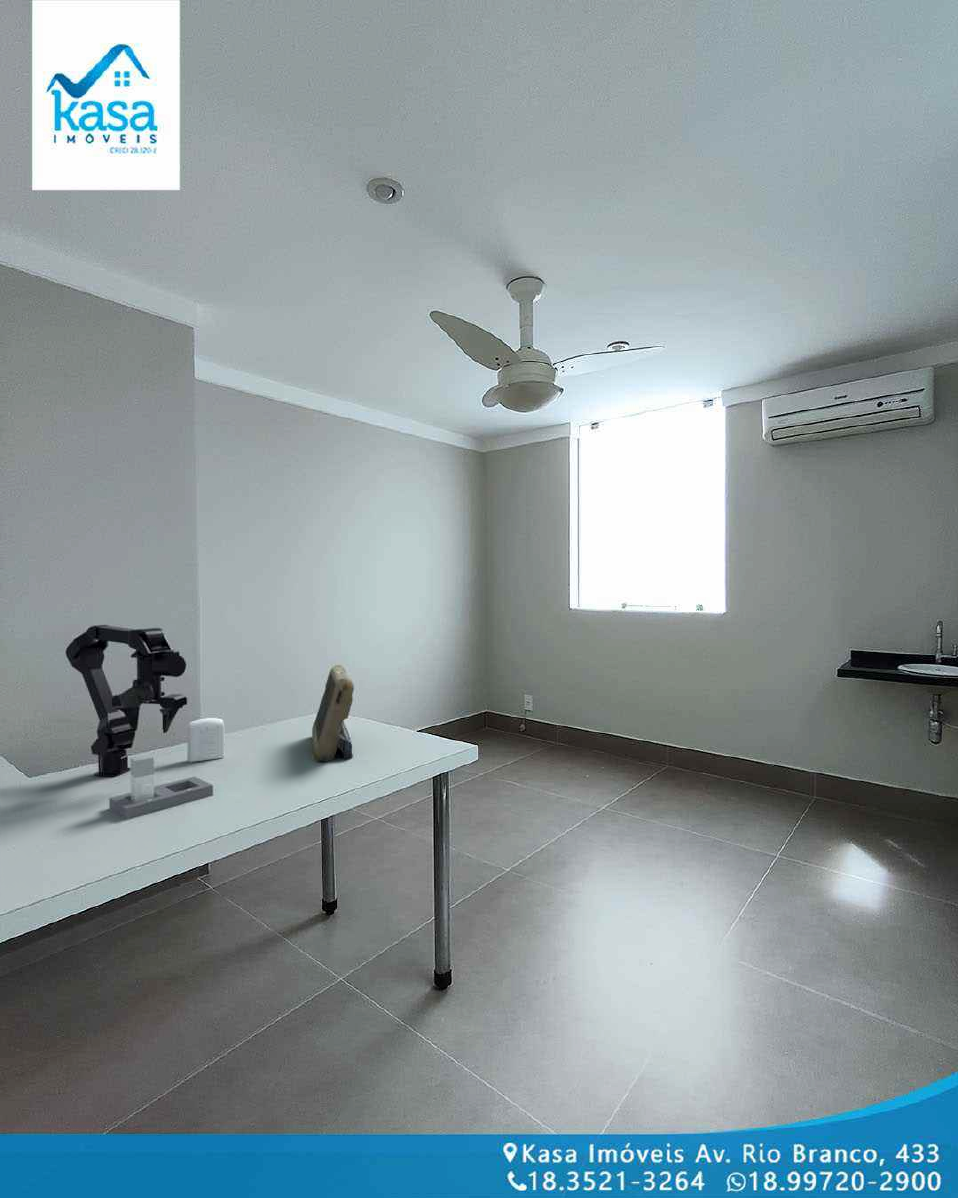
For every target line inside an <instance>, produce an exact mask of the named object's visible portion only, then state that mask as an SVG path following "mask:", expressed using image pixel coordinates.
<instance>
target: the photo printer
mask: <svg viewBox="0 0 958 1198" xmlns="http://www.w3.org/2000/svg"><path fill="white" fill-rule="evenodd" d="M186 753H187V754H186V755H187V762H188V763H194V762H202V761H207V760H208V761H210V760H218V759H223V758H224V757H225V723H224V720H223V719H222V718H217V717H208V718H207V717H206V718H201V719H199V718H198V719H196V720H193V721H190V722H189V723H188V727H187V752H186Z"/></svg>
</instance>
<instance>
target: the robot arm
mask: <svg viewBox="0 0 958 1198" xmlns="http://www.w3.org/2000/svg"><path fill="white" fill-rule="evenodd" d="M109 642H112V643H118V644H125V645H127V646H128V647H129V648H130V649H133V650H135V651H134V652H132V653H131V655H130V657H131V658H132V659H136V679H135V678H134V679H133V682H132V687H129V688H127V689H126V690H125V691H123V692H122V693H119V694H115V695H113V693H112V690H111V687H110V685H109V683H108V680H107V677H106V674H105V672H104V669H103V663H104V660H105V653H104V652H105V651H106V649H107V648H108V647H109ZM65 655H66V658H67V660H68V661H69V664H70V665H71V667H72V668H74V669H75V670H76V671H78V672H79V673H80V674H81V675H82V678H83V680H84V683H85V685H86V688H87V691H88V693H89V696H90V699H91V701H92V704H93V706H94V708H95V711H96V714H97V717H98V719H99V722H98V724H97V725H98V726H97V729H96V734H97V738H96V740H95V741H94V742H93V743H92V744H91V746H90V750H91V754H92V755H94V756H98V757H97V758H98V760H97V761H98V764H97V765H98V768H97V769H98V771H97V772H95V773H94V774H93V776H95V777H96V776H97V777H98V776H99V777H110V778H111V777H117V776H120V775H122V774H125V773H126V772H129V771H131V767H128V766H129V764H128V762H129V760H128V759H129V758H128V755H127V750H128V749H132V748H133V744H134V740H135V737H136V732H137V731H138V725H139V716H140V709H141V706H142V704H145V705H148V704H149V705H159V706H160V707H161V708H159V712H160V713H161V716H162V731H163V732H162V733H163V734H167V732H168V731H169V729H170V728H171V725H172V723H173V721H174V718H175V717H176V715H177V713H178V712H179V710H180V709H183V707H184V706H186V705H188V697H187V696H186V695H185V694H179V693H177V694H176V693H172V694H169V695H165V694H166V693H165V691H162V682H163V681H165V677H170V678H171V677H173V678H178V677H180V676H182V675H183V674H185V671H186V668H187V662H186V661H185V659H184V657H183V656H182V655H180V651H179V650H174V649H173V647H172V645H171V643H170V642H169V640H168V637H167V636H166V634H165V633H164V632H163V629H162V628H161V627H149V628H137V629H134V628H125V627H120V626H119V627H118V626H112V625H108V624H99V625H91V626H89V627H88V628H87V629H86V631H85V632H83V633H82V634H80V635H78V636H77V637H75V638H74V639H73V640H72V641H71V642H70V643H69V644H68V646H67V647H66V649H65ZM121 712H122V713H123V714H122V713H121Z"/></svg>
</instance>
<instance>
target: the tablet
mask: <svg viewBox="0 0 958 1198" xmlns="http://www.w3.org/2000/svg"><path fill="white" fill-rule="evenodd" d="M324 686H325V687H324V688H325V689H324V692H323V694H322V696H321V700H320V704H319V708H318V710H317V713H316V717H315V720H314V722H313V725H312V729H311V736H312V738H311V742H312V743H311V744H312V749H313V750H314V757H315V759H316V761H317V762H318V761H319V762H322V763H325V762H329V761H331V760H332V759H333V758H335V756H336V753H337V750H338V748H339V749H340V751H341V753H342V754H343V757H344V758H345V760H351V759H352V758H353V757H354V755H353V754H354V753H353V744H352V740H351V737H350V734H349V731H348V728H347V727H346V723H345V720H346V719H348V718H349V714H350V711H351V707H352V705H353V700H354V698H353V693H354V690H355V686H354V682H353V680H352V679H351V678H349V677H348V675H347V672H346V668H345V667H344V666H342V665H340V664H336V665H334V666H332V667H331V669H330V671H329V673H328V677H327V679H326V682H325V685H324Z"/></svg>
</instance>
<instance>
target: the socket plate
mask: <svg viewBox="0 0 958 1198" xmlns="http://www.w3.org/2000/svg"><path fill="white" fill-rule="evenodd" d="M213 795H214V785H213V784H212V783H210V782H208V781H205V780H203V779H200V778H199V777H196V776H191V777H188V778H184V779H179V780H176V781H171V782H167V783H164V784H159V785H156V786H155V785H154V798H152V799H148V800H145V801H141V802H137V803H132V802H131V792H127V793H124V794H120V795H116V796H113V797H109V798H108V799H109V803H108V804H109V809H110V810H111V811H112V812H114V813H116V814H117V815H119V816H120V817H121V818H123V819H125V820H128V819H129V820H130V819H133V818H135V817H141V816H143V815H147V814H151V813H153V812H158V811H162V810H165V809H168V808H172V807H174V806H179V805H182V804H186V803H189V802H192V801H193V802H194V801H197V800H200V799H203V798H207V797H211V796H213Z"/></svg>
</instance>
